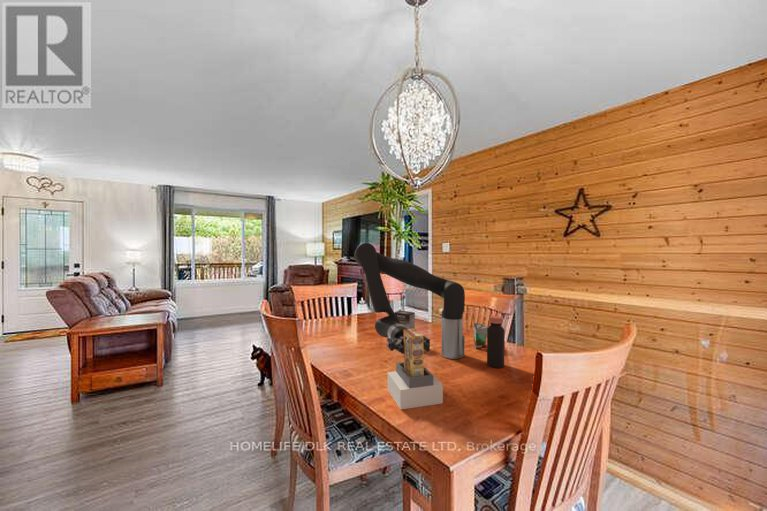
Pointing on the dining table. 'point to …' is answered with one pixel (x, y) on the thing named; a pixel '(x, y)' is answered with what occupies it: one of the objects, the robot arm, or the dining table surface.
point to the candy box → (413, 353)
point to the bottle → (495, 343)
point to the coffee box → (406, 319)
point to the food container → (480, 335)
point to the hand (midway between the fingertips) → (415, 349)
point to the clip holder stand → (414, 388)
